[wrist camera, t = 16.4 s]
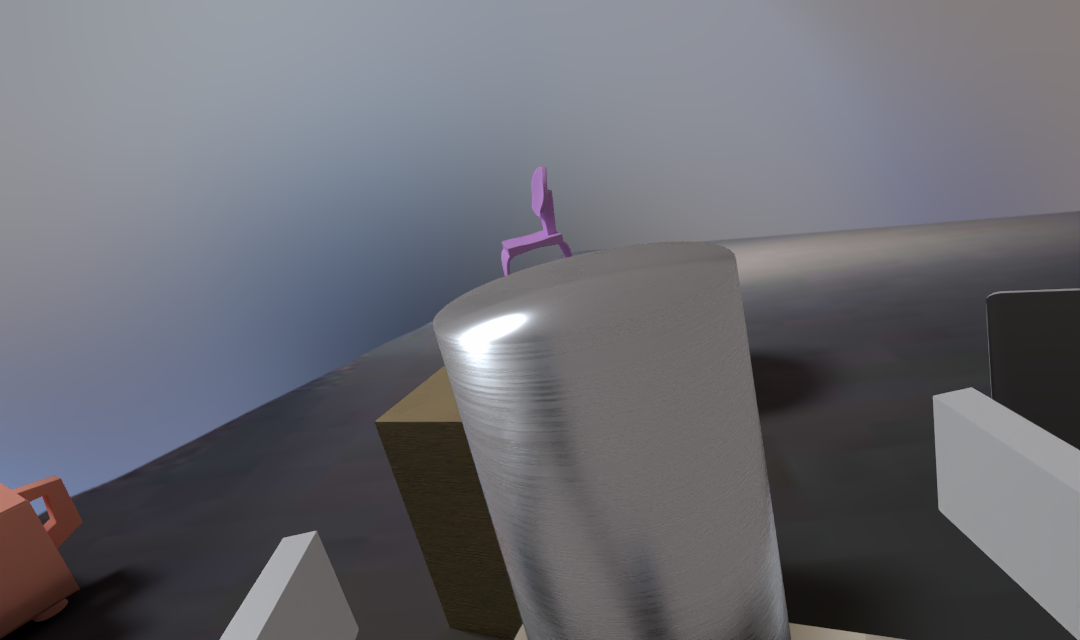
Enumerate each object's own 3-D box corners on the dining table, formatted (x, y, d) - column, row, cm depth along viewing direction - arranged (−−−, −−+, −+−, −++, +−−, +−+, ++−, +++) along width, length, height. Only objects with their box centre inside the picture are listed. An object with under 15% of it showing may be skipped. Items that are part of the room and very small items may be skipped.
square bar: (449, 627, 25) (374, 421, 22) (512, 533, 30) (457, 355, 27) (578, 652, 22) (511, 421, 20) (623, 544, 27) (576, 347, 25)
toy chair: (510, 298, 75) (478, 181, 71) (575, 279, 76) (548, 162, 72) (518, 314, 68) (483, 183, 63) (591, 293, 68) (562, 163, 64)
